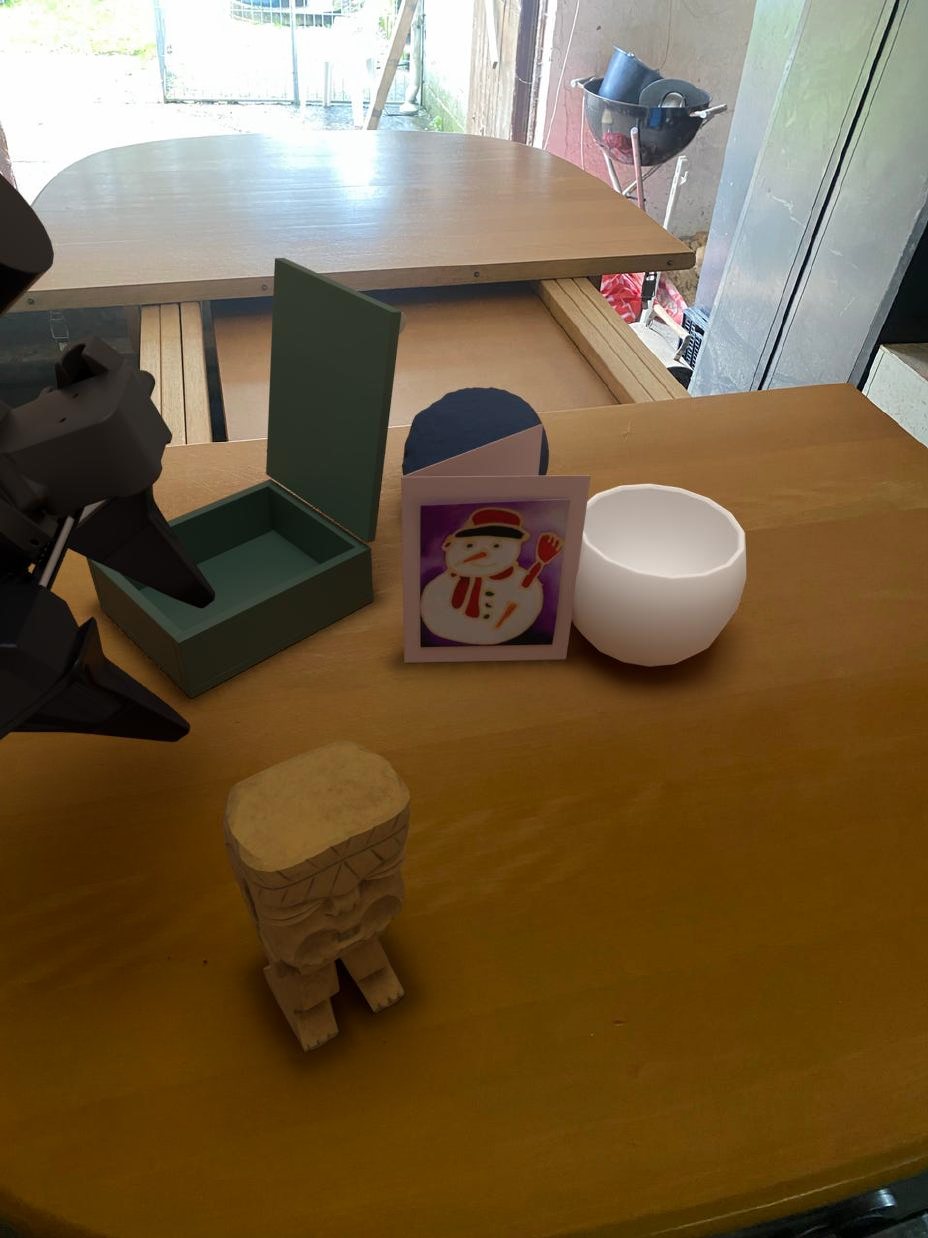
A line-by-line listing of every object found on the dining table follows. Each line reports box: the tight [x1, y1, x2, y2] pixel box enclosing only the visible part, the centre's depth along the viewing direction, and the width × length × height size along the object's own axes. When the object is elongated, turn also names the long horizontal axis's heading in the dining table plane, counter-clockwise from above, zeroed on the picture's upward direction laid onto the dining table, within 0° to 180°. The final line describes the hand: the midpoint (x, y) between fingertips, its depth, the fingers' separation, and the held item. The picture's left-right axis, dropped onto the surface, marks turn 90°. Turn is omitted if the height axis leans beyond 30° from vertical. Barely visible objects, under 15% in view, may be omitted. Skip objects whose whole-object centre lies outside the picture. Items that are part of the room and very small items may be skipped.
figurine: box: [222, 739, 411, 1054], centre depth 41 cm, size 7×6×15 cm
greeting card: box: [400, 423, 592, 664], centre depth 62 cm, size 11×7×15 cm, turn 94°
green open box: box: [85, 478, 374, 699], centre depth 67 cm, size 16×13×5 cm
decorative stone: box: [401, 386, 550, 476], centre depth 76 cm, size 12×12×10 cm
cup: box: [571, 483, 747, 667], centre depth 64 cm, size 12×12×10 cm
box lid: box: [265, 257, 407, 544], centre depth 66 cm, size 16×13×4 cm
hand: (197, 663), depth 44 cm, fingers open, 9 cm apart
